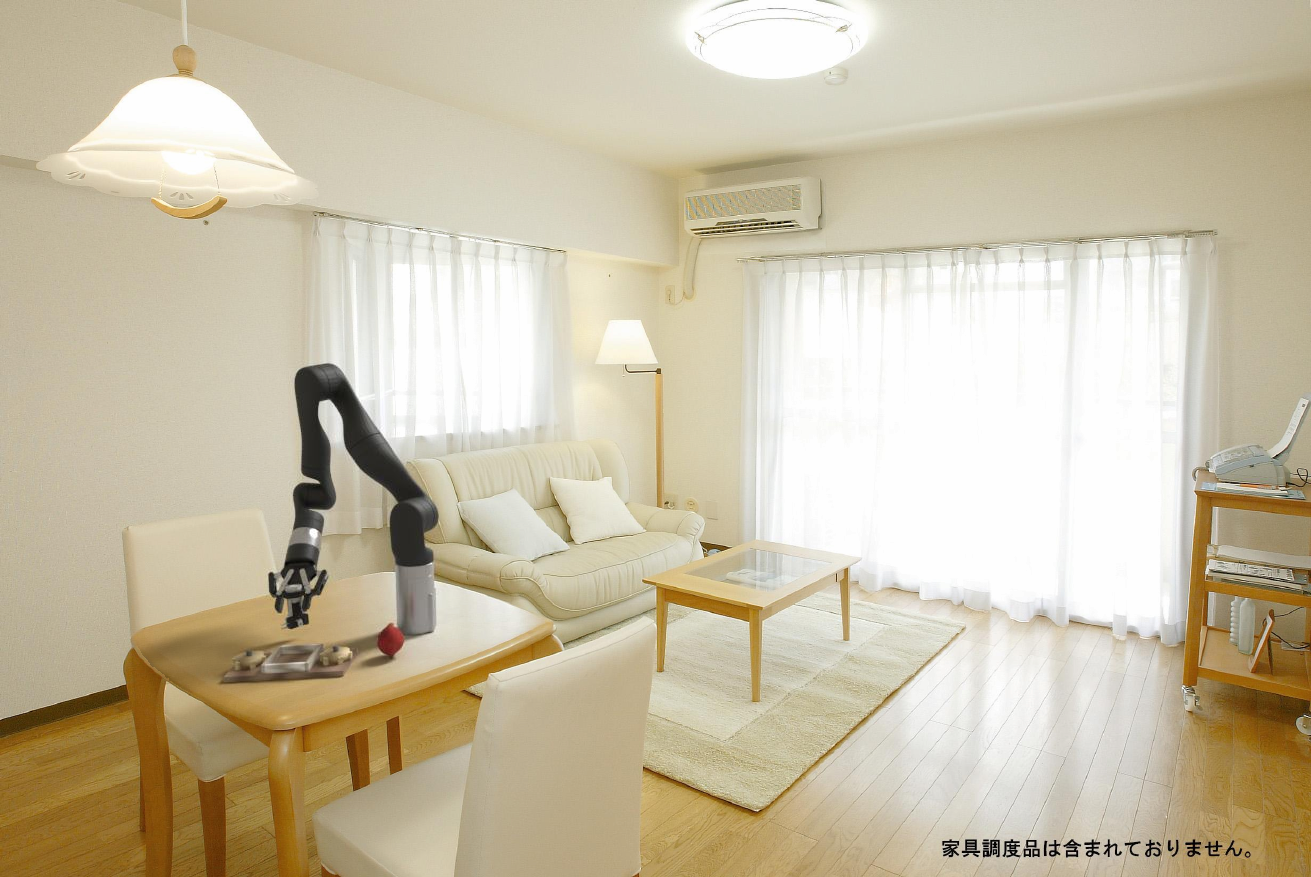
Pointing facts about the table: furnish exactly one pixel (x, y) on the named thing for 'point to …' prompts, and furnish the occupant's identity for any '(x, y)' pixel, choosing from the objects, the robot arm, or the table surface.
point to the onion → (390, 640)
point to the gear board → (291, 663)
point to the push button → (295, 606)
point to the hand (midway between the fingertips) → (291, 610)
